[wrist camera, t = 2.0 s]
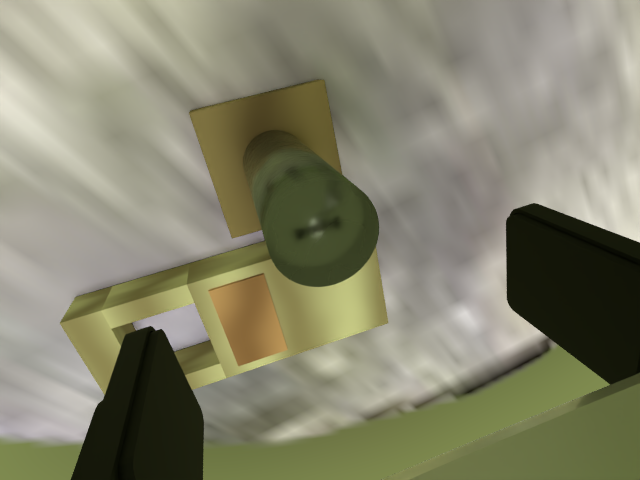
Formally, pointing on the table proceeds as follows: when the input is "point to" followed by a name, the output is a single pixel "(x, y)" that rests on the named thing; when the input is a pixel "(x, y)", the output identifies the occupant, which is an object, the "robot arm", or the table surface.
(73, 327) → the block with square hole
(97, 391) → the table surface
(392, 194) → the table surface
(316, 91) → the tab
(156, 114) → the table surface
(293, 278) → the peg
